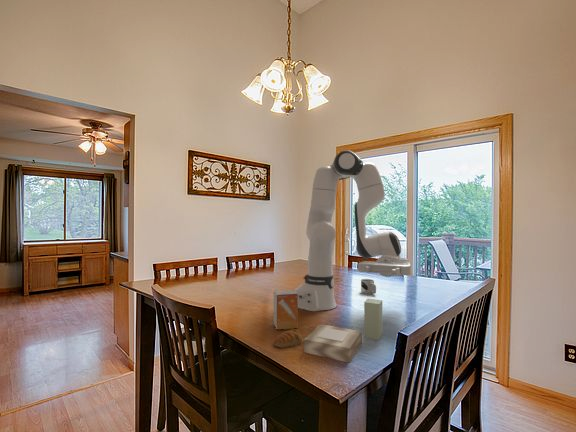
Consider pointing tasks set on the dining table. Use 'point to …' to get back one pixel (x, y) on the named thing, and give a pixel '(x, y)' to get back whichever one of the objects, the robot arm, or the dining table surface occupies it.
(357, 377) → the dining table surface
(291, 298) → the small box
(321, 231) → the robot arm
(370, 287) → the mug
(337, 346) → the base plinth
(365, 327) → the sage block
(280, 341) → the pastry
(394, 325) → the dining table surface
